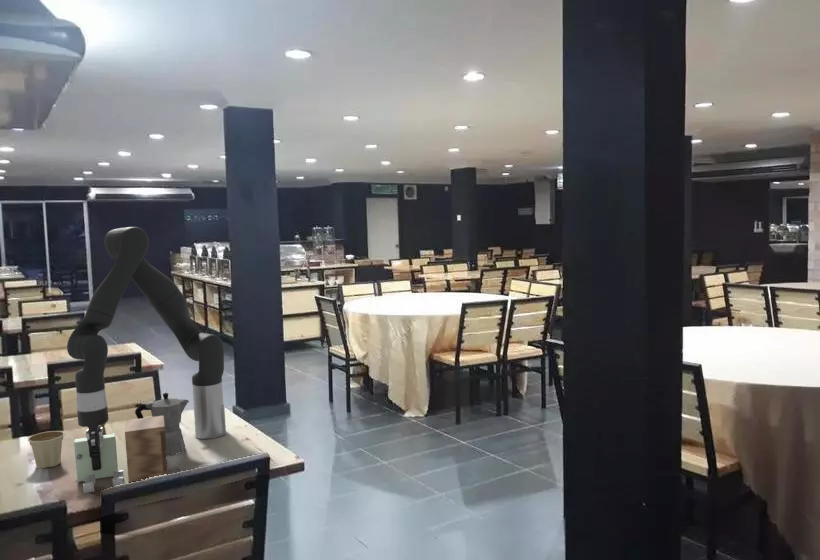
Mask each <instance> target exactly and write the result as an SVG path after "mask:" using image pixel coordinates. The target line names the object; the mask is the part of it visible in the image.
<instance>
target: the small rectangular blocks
mask: <svg viewBox="0 0 820 560" xmlns="http://www.w3.org/2000/svg"><path fill="white" fill-rule="evenodd" d="M113 474H114V476H113V478H112V487H113V486H116V485H120V484H123V485H124V479H125V477H124V476H125V475H124V470H123V469H121V470H118V471H114V472H113ZM94 485H96V479H95V475H88V476H85V481H84V482H83V484H82V486H83V487H82V488H83V494H87V493H92V492H93V493H94V492H95V486H94Z"/></svg>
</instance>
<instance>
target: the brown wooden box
mask: <svg viewBox="0 0 820 560" xmlns="http://www.w3.org/2000/svg"><path fill="white" fill-rule="evenodd" d="M124 439H125V451H126V454H125V455H126V466H127V478H128V483H133V482H132V481H135V482H139V481H138V480H141V479H146V478H149V477H154V476H159V475H164V474H168V475H169V470H168V469H169V468H168V456H167V453H166V439H165V425H164V415H163V416H156V417H152V416H150V417H143V418H140V419H138V418H133V419H126V420H125V425H124ZM141 481H142V480H141Z"/></svg>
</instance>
